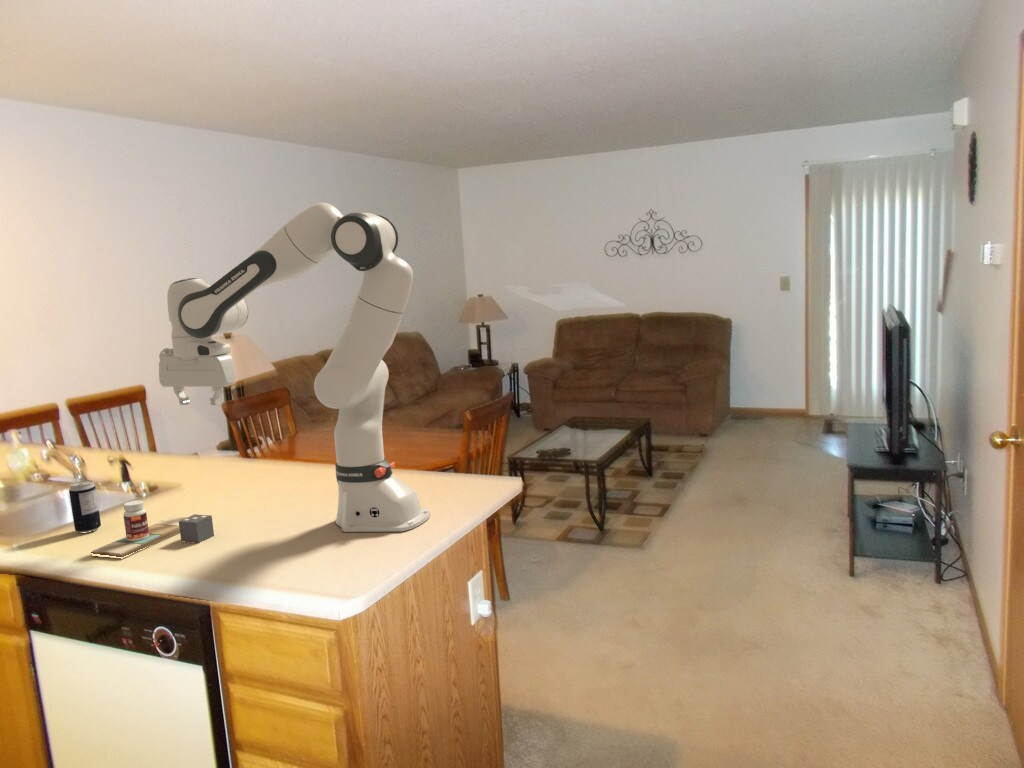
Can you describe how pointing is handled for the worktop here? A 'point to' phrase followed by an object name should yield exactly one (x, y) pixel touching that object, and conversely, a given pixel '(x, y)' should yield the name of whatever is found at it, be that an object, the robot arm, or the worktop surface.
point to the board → (155, 535)
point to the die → (196, 528)
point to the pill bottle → (135, 521)
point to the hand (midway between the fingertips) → (200, 404)
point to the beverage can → (84, 506)
